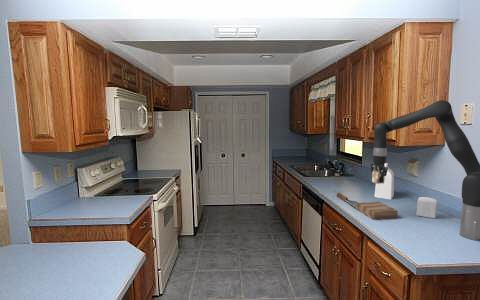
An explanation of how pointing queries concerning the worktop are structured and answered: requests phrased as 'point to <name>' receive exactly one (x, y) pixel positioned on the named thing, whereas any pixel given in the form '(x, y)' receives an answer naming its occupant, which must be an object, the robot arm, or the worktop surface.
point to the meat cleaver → (347, 200)
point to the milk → (386, 186)
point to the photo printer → (426, 207)
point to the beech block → (377, 177)
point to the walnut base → (377, 210)
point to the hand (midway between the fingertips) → (378, 181)
